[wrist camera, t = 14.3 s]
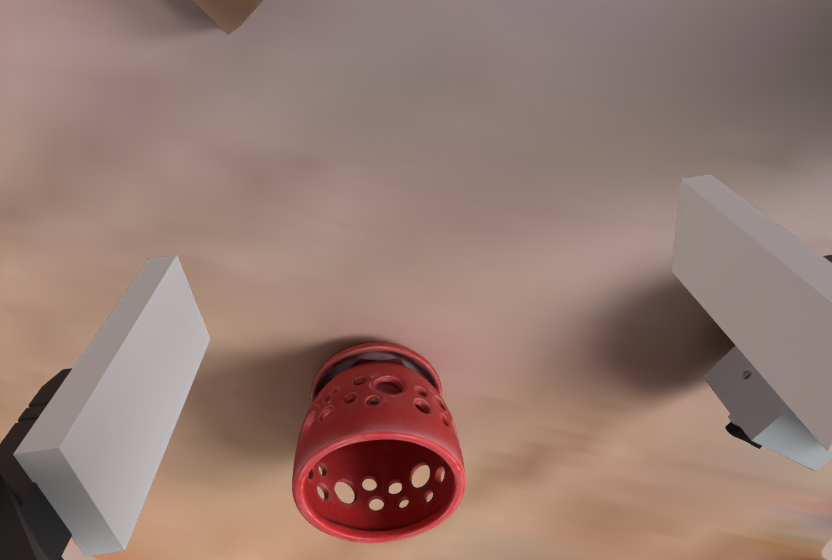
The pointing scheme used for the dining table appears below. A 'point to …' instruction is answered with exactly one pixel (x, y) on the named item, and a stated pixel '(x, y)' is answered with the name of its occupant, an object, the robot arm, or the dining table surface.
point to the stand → (228, 12)
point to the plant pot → (377, 445)
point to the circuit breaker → (762, 412)
